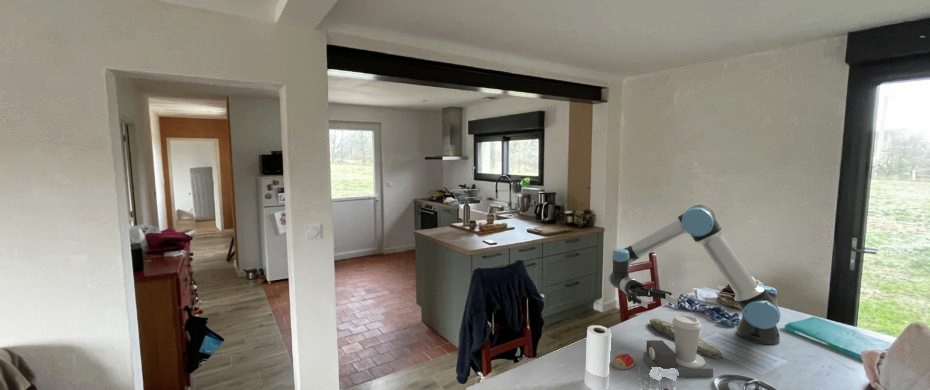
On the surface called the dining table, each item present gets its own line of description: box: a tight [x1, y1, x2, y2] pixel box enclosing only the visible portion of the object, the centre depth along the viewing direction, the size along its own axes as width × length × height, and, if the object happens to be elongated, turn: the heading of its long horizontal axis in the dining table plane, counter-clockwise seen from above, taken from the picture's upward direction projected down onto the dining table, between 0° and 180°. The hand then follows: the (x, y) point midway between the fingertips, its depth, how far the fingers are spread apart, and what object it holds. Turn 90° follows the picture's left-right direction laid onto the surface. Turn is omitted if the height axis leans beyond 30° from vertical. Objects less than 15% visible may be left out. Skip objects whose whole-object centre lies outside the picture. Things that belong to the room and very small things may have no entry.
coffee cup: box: [671, 314, 702, 362], centre depth 144 cm, size 10×10×15 cm
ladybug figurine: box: [612, 353, 635, 371], centre depth 147 cm, size 7×10×4 cm
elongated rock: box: [649, 318, 722, 360], centre depth 167 cm, size 35×5×10 cm
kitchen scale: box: [642, 339, 714, 378], centre depth 144 cm, size 20×12×8 cm, turn 88°
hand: (661, 303), depth 157 cm, fingers open, 13 cm apart
